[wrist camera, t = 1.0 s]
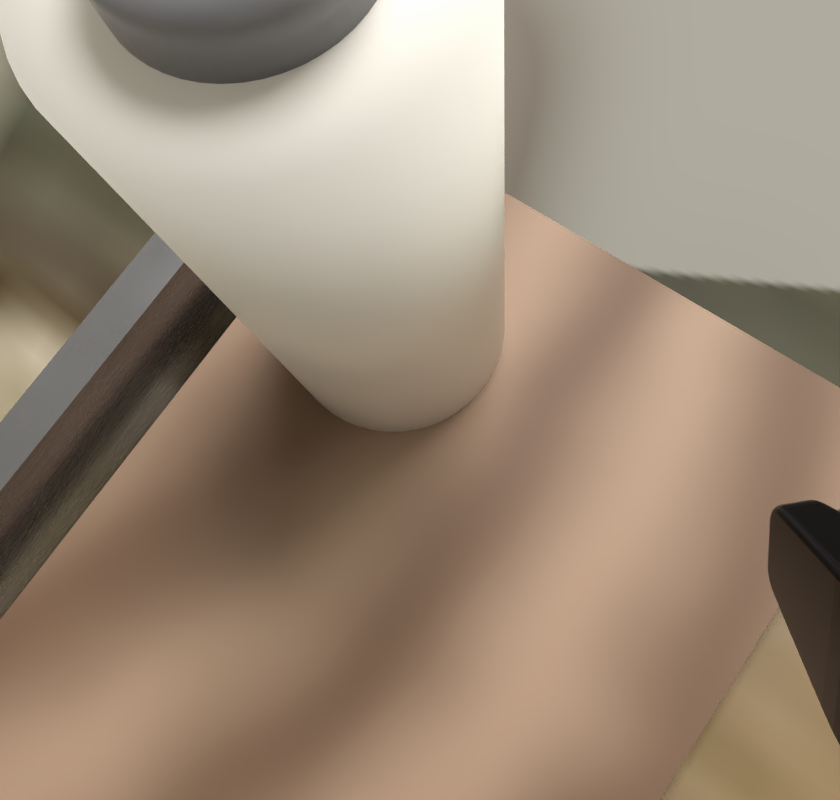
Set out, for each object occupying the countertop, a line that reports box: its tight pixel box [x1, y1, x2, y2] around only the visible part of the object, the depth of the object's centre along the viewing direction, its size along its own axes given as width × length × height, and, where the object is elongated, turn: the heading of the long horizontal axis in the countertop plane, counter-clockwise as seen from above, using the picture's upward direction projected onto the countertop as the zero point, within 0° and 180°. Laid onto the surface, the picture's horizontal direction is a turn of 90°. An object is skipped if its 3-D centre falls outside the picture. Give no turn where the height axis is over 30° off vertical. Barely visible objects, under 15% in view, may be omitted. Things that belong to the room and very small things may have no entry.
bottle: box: [0, 0, 505, 432], centre depth 15 cm, size 6×6×14 cm
